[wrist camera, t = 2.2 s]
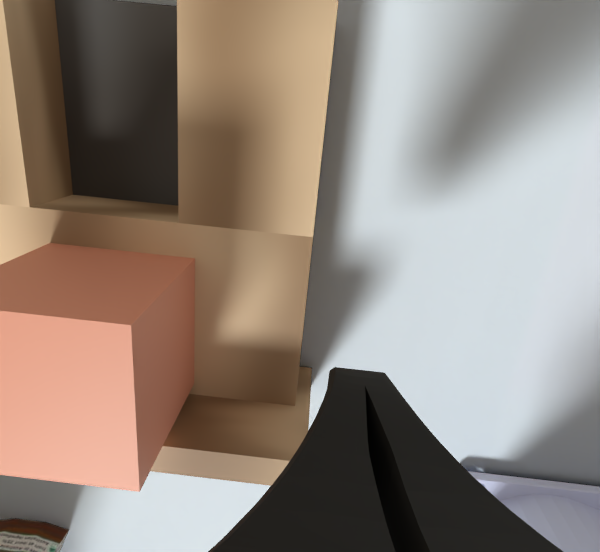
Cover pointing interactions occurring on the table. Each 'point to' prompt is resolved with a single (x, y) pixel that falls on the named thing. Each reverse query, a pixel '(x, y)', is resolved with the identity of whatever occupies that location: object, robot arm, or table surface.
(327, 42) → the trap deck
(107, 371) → the clay-red block
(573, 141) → the table surface
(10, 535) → the food container
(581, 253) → the table surface
